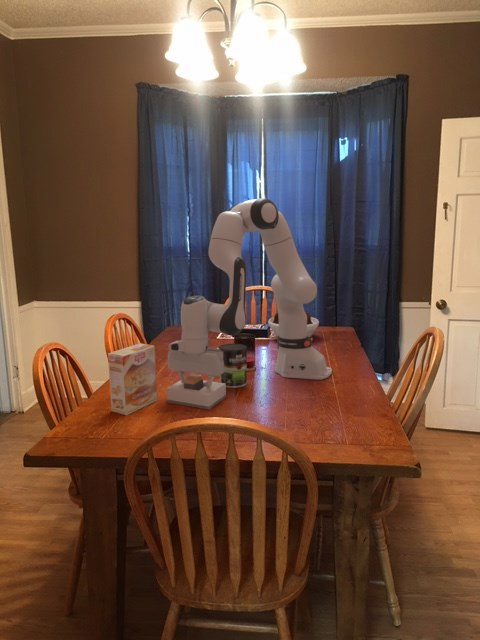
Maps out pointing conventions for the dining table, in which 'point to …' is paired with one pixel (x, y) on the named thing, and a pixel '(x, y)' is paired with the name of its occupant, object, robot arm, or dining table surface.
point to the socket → (196, 395)
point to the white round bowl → (311, 324)
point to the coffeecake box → (132, 378)
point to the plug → (194, 382)
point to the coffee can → (234, 365)
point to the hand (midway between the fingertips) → (196, 384)
